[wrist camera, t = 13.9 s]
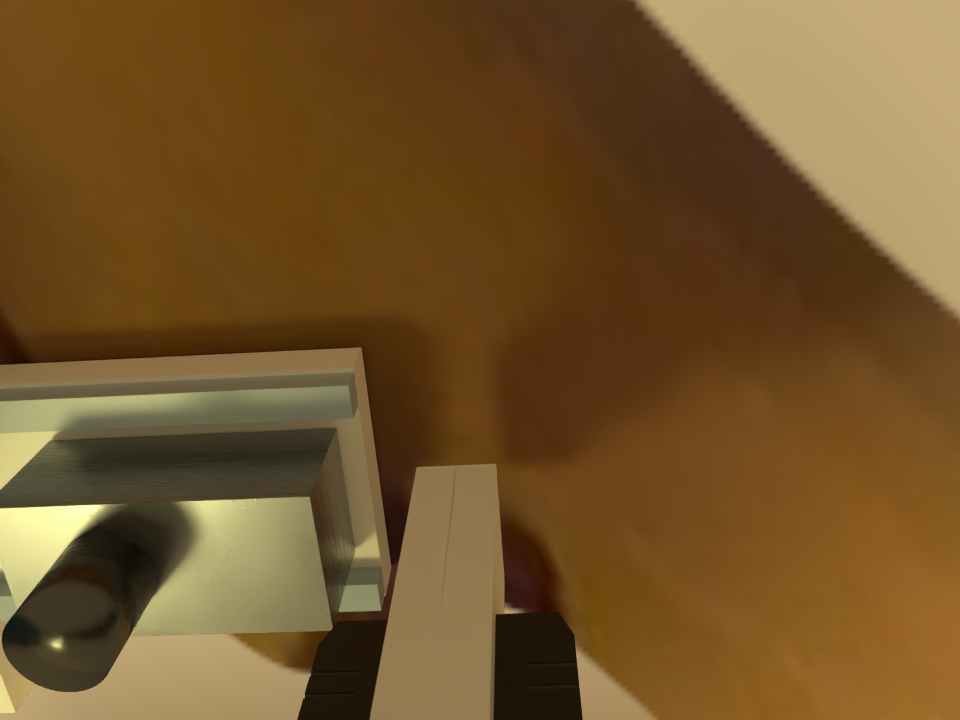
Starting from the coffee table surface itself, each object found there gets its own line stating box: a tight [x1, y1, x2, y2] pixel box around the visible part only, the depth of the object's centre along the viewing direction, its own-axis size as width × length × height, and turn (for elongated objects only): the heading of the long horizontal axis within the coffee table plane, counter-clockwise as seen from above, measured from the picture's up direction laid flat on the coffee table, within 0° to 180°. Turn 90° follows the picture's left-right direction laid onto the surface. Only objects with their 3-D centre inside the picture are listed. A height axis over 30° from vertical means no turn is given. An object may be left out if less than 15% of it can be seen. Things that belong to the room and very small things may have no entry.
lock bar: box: [0, 428, 355, 692], centre depth 16 cm, size 6×3×4 cm, turn 94°
